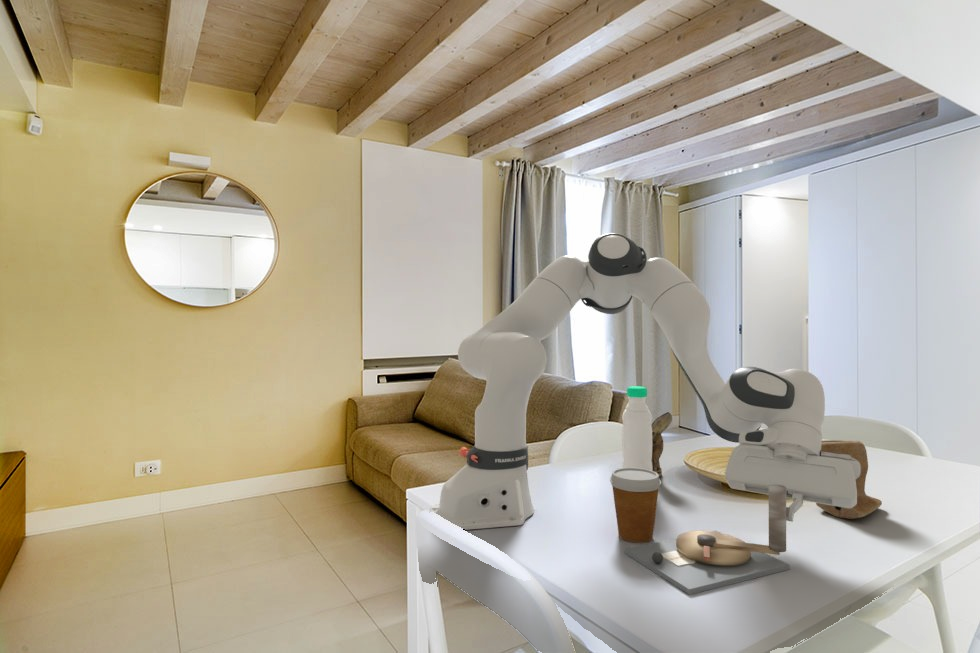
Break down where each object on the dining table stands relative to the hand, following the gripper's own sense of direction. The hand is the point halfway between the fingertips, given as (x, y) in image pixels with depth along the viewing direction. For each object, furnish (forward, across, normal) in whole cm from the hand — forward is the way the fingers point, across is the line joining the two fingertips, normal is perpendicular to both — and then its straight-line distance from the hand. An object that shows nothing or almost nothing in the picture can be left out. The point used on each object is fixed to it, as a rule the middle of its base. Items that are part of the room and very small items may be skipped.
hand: (783, 518), depth 93 cm
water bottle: (-11, +35, -23) cm, 43 cm away
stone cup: (-20, -6, -32) cm, 38 cm away
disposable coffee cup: (+8, +25, -3) cm, 26 cm away
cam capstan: (+8, +8, -1) cm, 11 cm away
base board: (+10, +11, 0) cm, 15 cm away
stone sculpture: (-20, +37, -32) cm, 53 cm away
